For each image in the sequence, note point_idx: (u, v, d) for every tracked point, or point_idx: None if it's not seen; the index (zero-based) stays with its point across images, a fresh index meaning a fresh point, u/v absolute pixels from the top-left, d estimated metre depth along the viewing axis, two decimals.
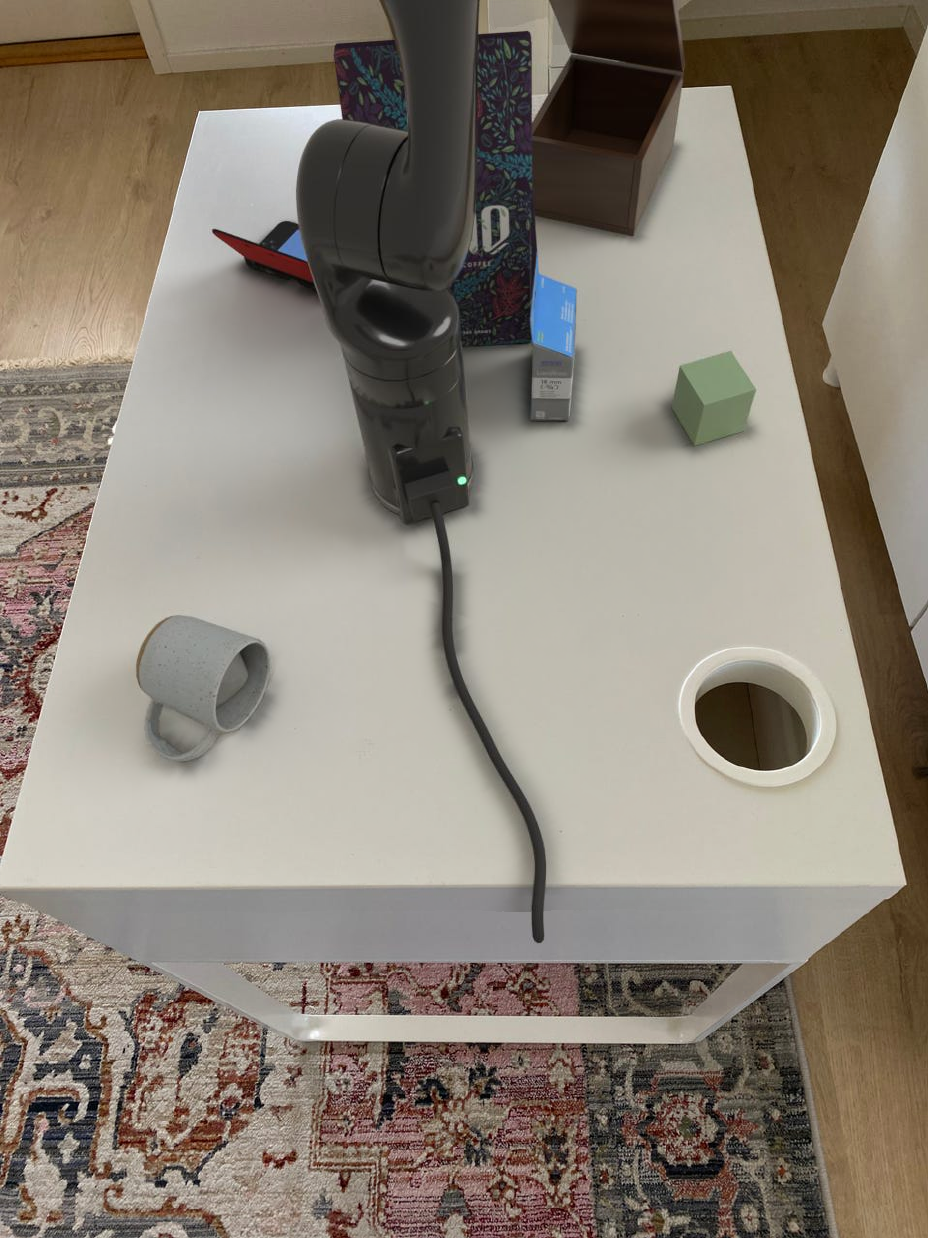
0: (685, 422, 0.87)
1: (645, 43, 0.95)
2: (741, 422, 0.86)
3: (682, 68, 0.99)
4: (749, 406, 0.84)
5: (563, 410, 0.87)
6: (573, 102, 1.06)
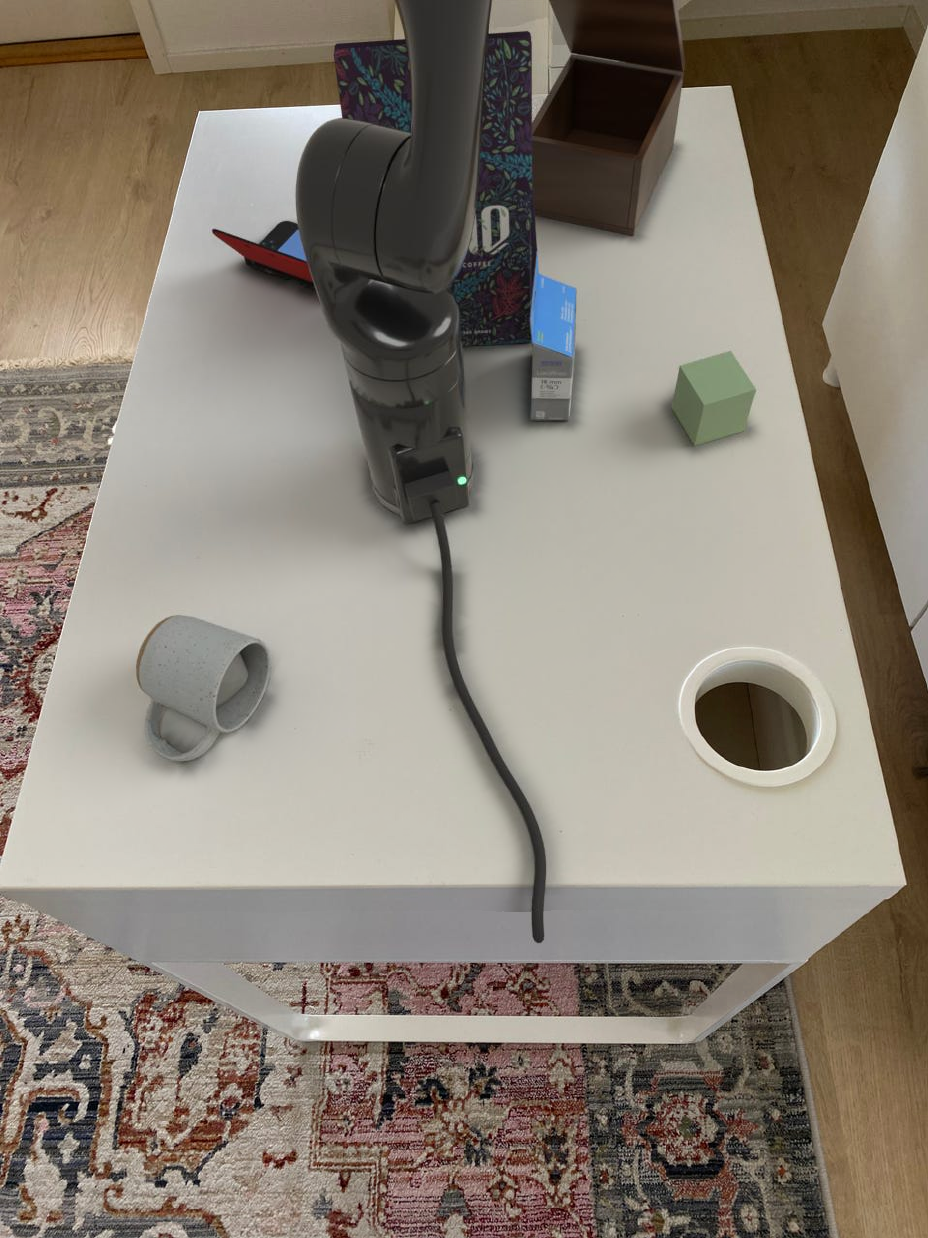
0: (685, 422, 0.87)
1: (645, 43, 0.95)
2: (741, 422, 0.86)
3: (682, 68, 0.99)
4: (749, 406, 0.84)
5: (563, 410, 0.87)
6: (573, 102, 1.06)
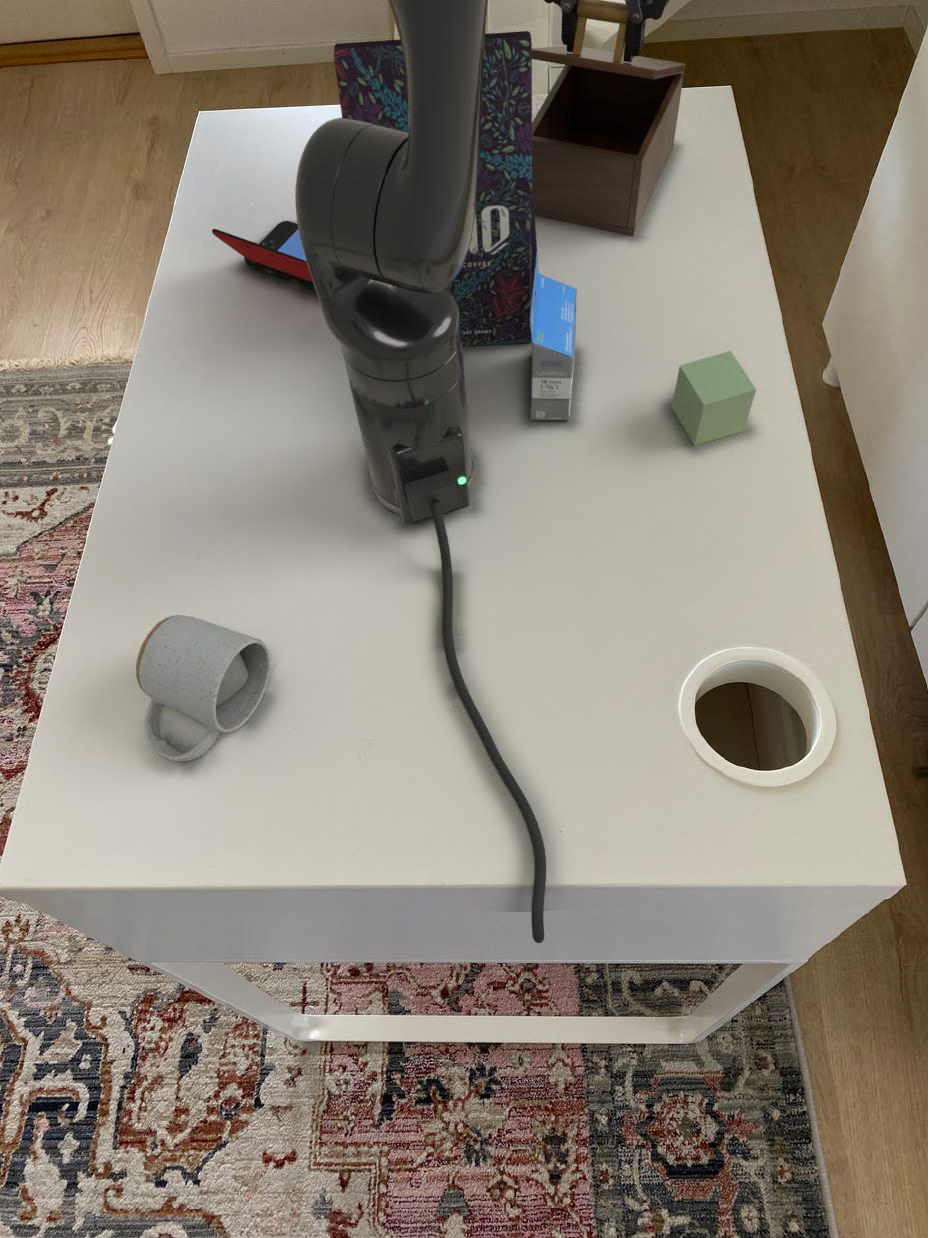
0: (685, 422, 0.87)
1: None
2: (741, 422, 0.86)
3: (681, 72, 0.99)
4: (749, 406, 0.84)
5: (563, 410, 0.87)
6: (573, 102, 1.06)
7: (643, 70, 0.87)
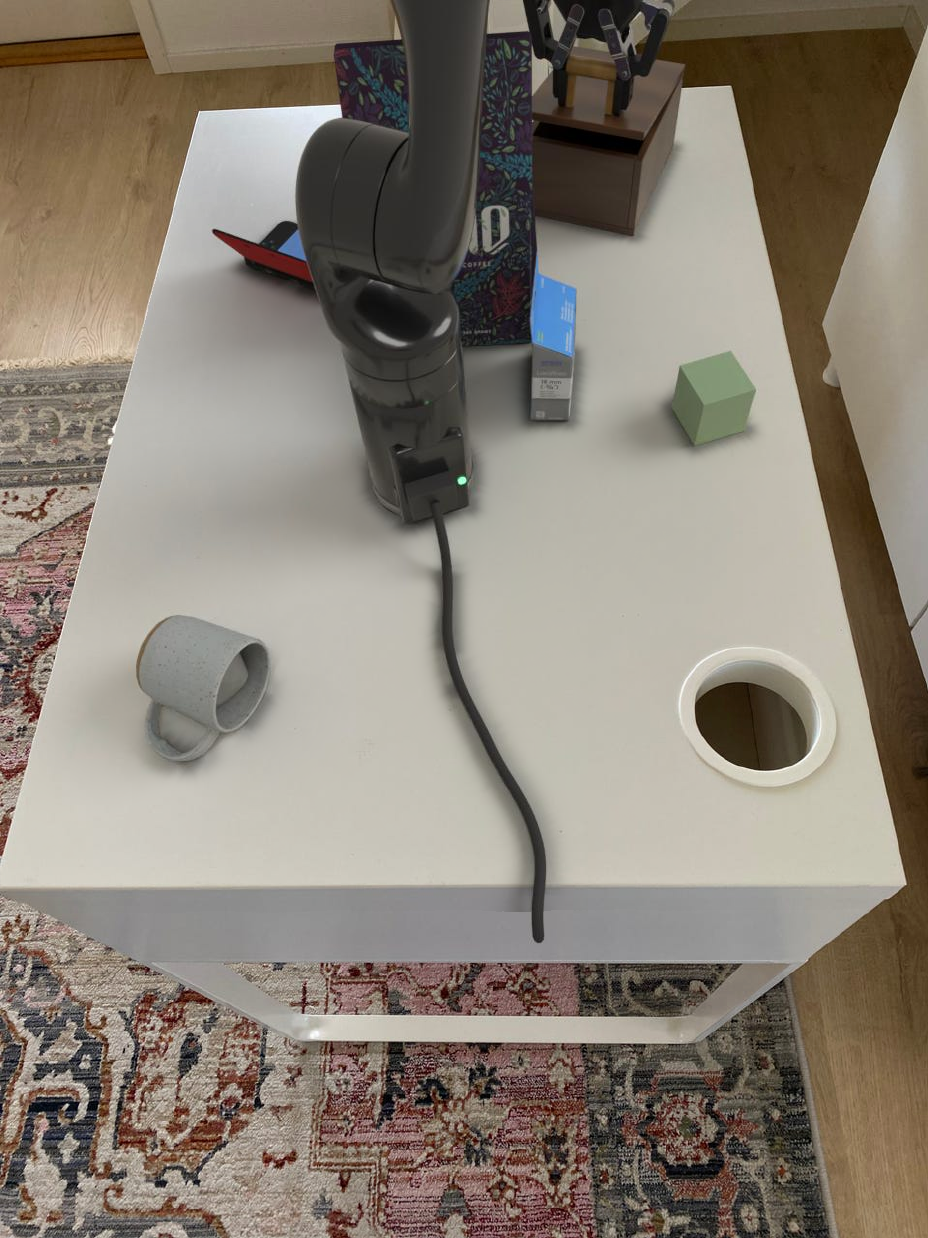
0: (685, 422, 0.87)
1: None
2: (741, 422, 0.86)
3: (681, 75, 0.99)
4: (749, 406, 0.84)
5: (563, 410, 0.87)
6: None
7: (632, 132, 0.90)
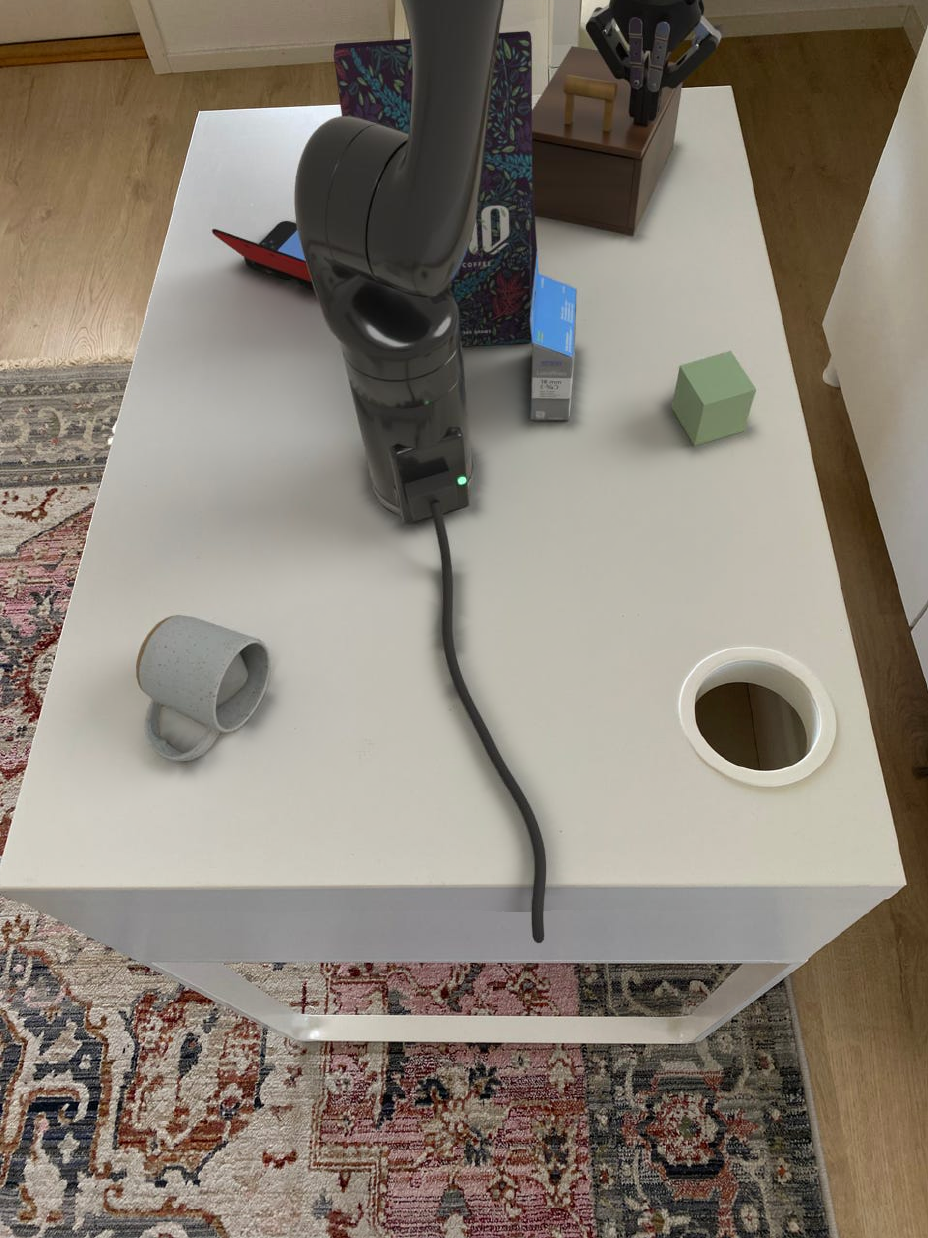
0: (685, 422, 0.87)
1: None
2: (741, 422, 0.86)
3: None
4: (749, 406, 0.84)
5: (563, 410, 0.87)
6: None
7: (630, 151, 0.92)
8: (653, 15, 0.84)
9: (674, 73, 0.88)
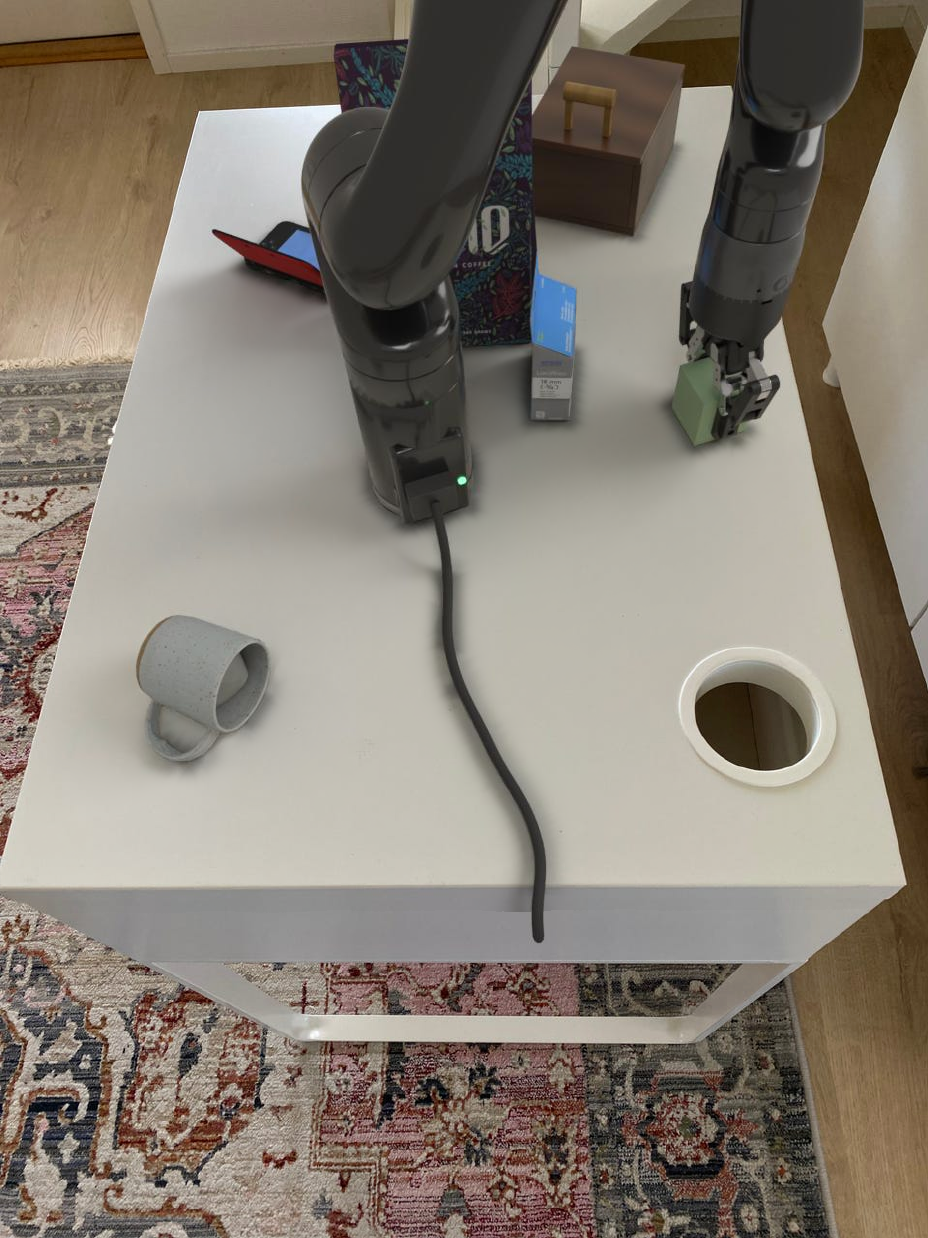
0: (685, 422, 0.87)
1: None
2: None
3: (681, 76, 1.00)
4: None
5: (563, 410, 0.87)
6: None
7: (629, 157, 0.92)
8: None
9: (732, 410, 0.80)
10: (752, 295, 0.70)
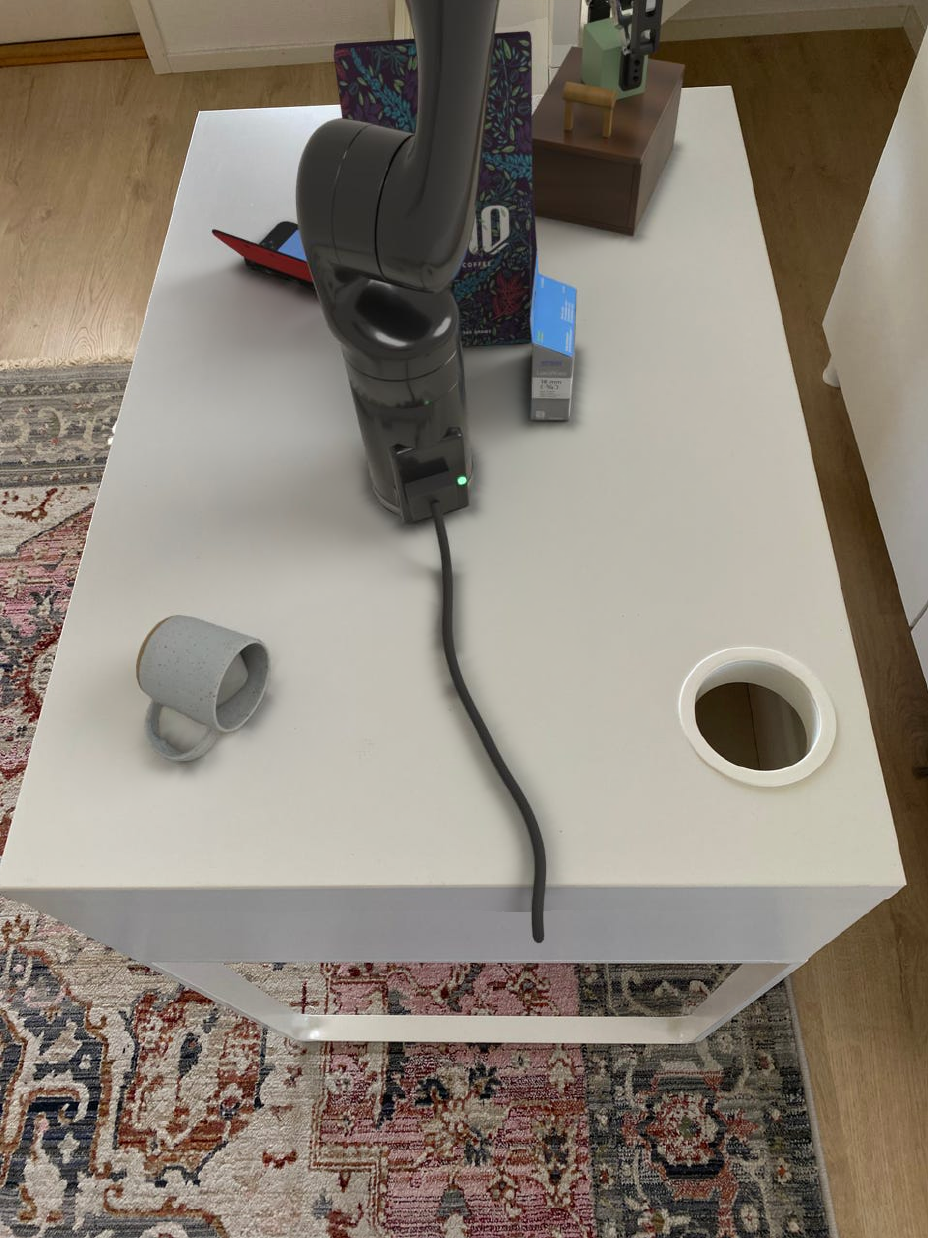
0: (591, 84, 0.97)
1: None
2: None
3: (681, 76, 1.00)
4: (645, 60, 0.94)
5: (563, 410, 0.87)
6: None
7: (629, 158, 0.92)
8: None
9: (630, 41, 0.88)
10: None
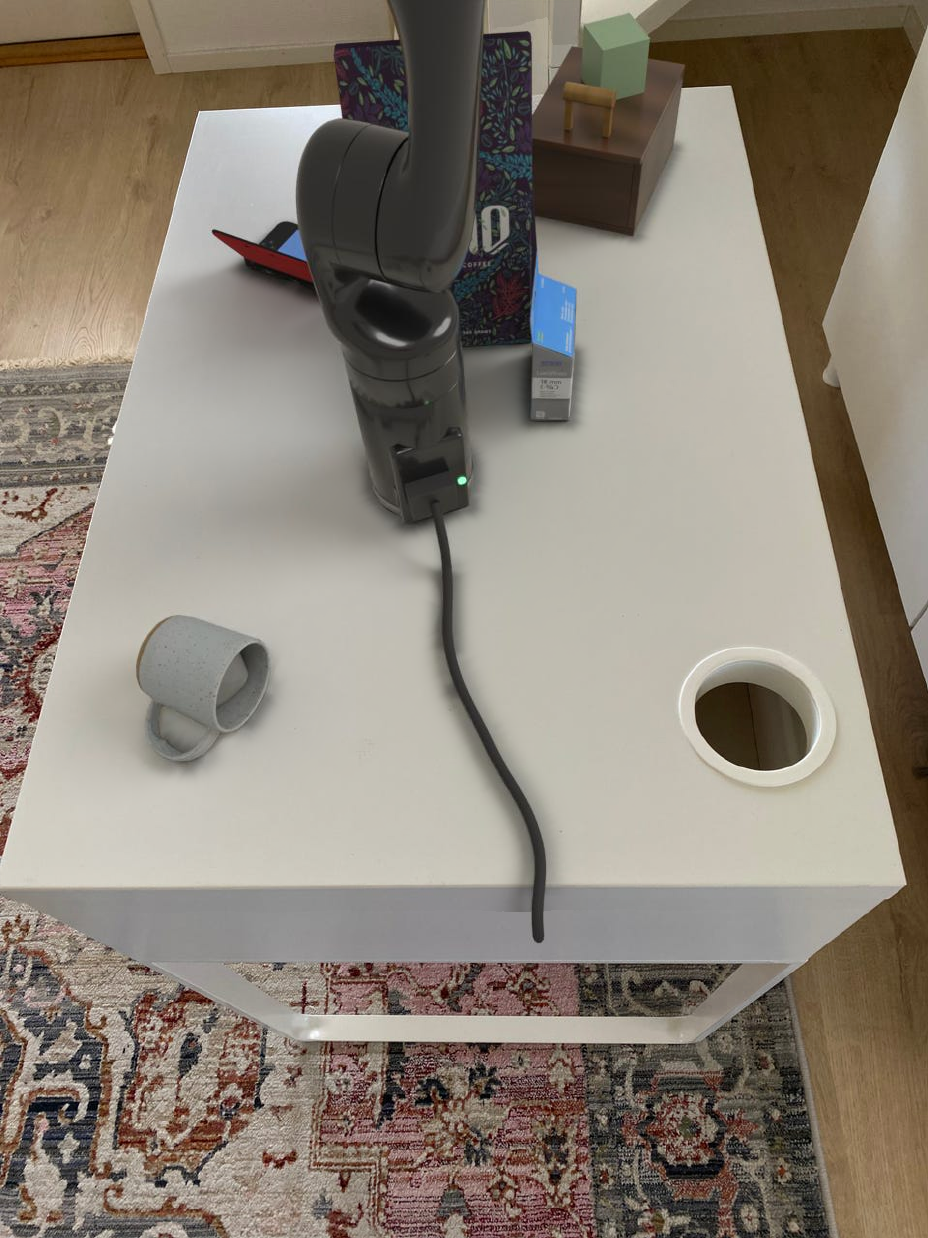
0: (591, 84, 0.97)
1: None
2: (640, 80, 0.96)
3: (681, 76, 1.00)
4: (645, 60, 0.94)
5: (563, 410, 0.87)
6: None
7: (629, 158, 0.92)
8: None
9: None
10: None
